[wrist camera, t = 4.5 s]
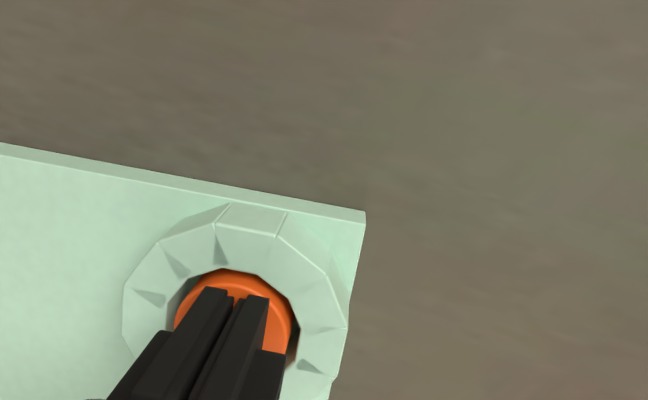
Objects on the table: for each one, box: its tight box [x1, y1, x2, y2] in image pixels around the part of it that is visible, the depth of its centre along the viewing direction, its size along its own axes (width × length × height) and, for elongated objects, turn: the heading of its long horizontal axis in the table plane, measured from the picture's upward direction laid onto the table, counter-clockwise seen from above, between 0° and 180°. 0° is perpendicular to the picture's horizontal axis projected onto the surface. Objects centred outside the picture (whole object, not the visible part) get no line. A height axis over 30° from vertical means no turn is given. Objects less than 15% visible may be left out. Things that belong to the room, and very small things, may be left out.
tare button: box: [174, 268, 295, 354], centre depth 12 cm, size 3×3×2 cm
